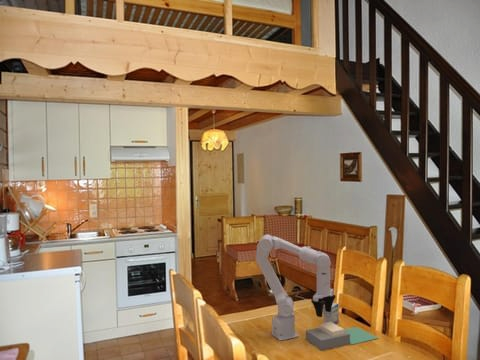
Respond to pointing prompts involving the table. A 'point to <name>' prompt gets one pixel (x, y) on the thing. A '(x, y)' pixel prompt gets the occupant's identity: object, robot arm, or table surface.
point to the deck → (326, 339)
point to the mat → (359, 335)
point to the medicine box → (331, 314)
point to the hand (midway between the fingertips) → (323, 314)
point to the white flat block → (331, 329)
